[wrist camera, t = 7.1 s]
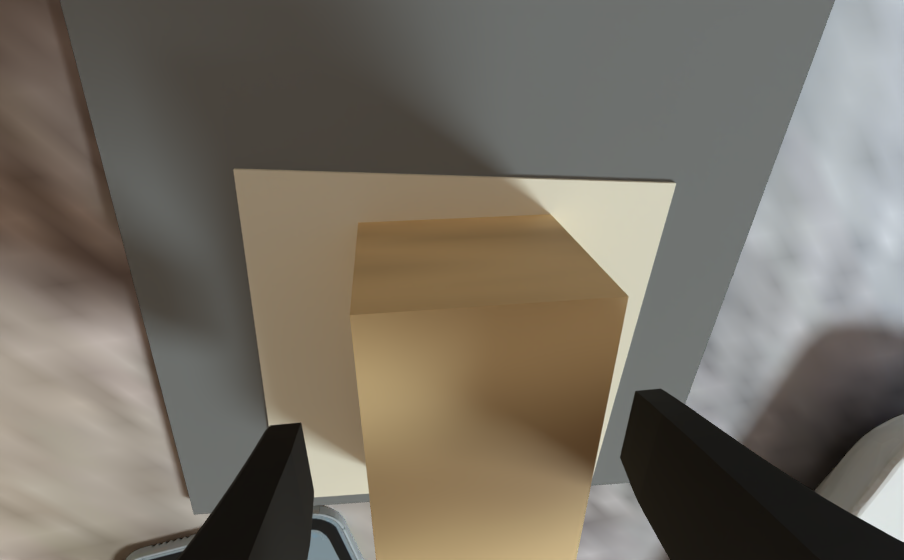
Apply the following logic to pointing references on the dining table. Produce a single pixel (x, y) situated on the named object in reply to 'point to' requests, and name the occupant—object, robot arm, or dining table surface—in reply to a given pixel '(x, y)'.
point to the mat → (418, 180)
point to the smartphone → (329, 550)
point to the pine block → (481, 384)
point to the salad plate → (872, 479)
